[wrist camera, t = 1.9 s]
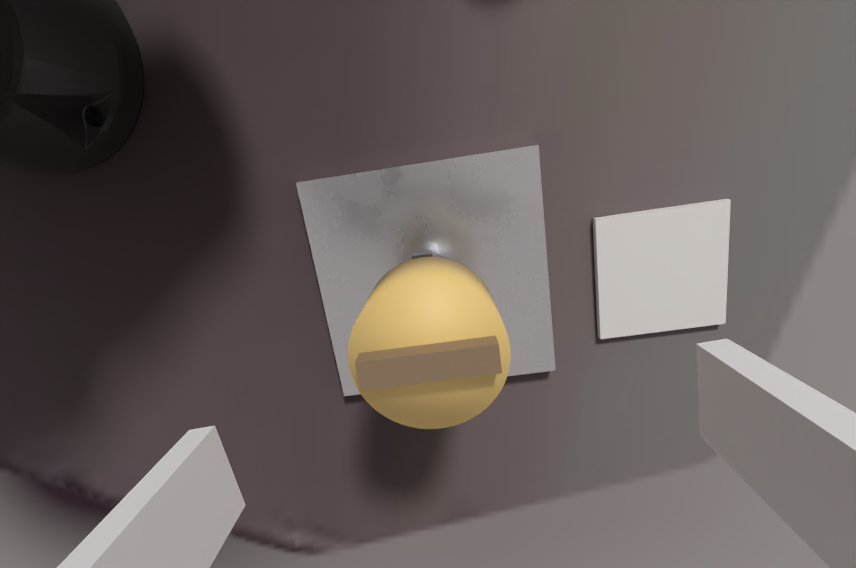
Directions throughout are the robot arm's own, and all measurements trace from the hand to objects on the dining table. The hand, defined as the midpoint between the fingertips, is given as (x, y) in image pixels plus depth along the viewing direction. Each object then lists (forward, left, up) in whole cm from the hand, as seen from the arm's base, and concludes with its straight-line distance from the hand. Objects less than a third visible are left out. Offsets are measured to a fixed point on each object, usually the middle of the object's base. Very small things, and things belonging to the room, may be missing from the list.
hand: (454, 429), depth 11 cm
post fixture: (-1, -2, -23) cm, 23 cm away
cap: (-1, -2, -13) cm, 13 cm away
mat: (+17, -4, -23) cm, 29 cm away
